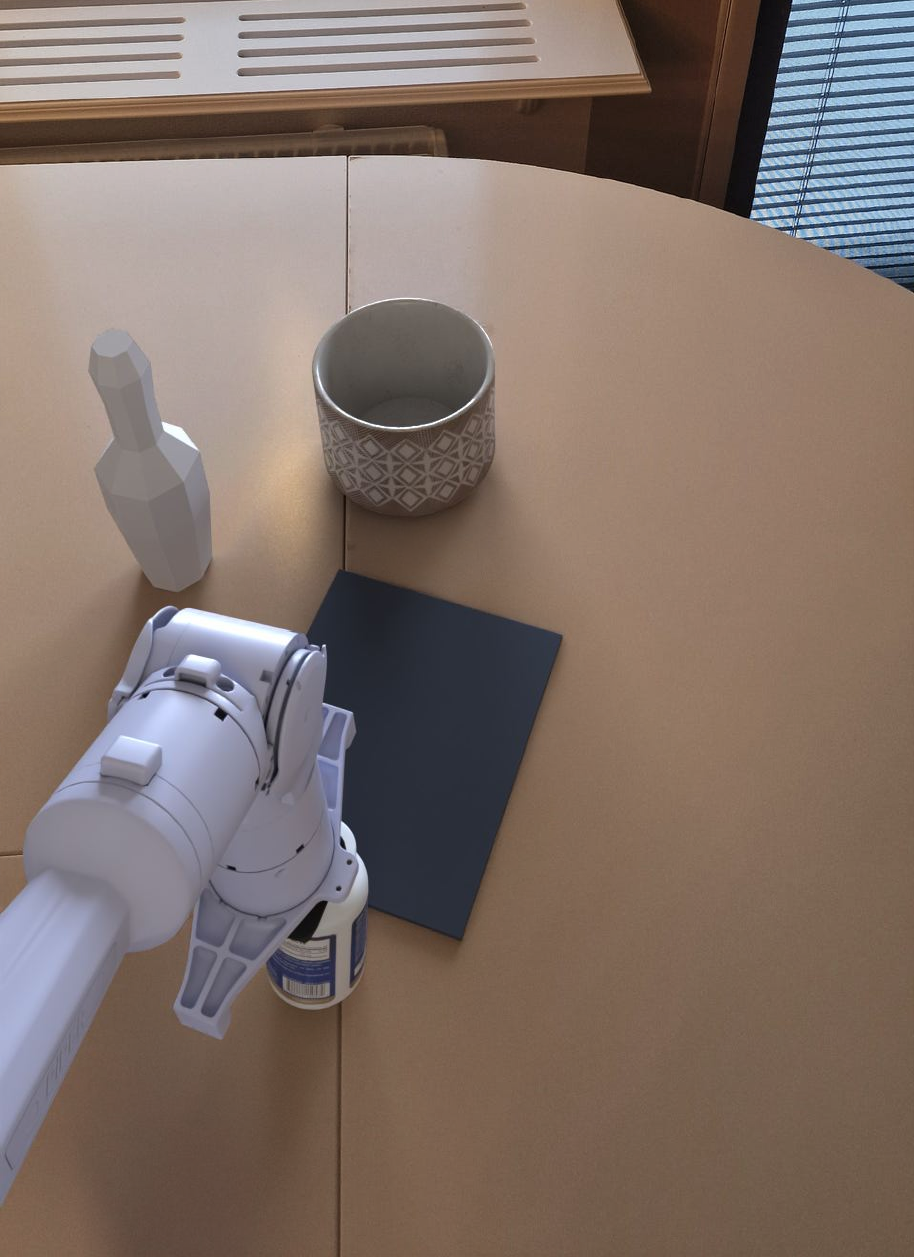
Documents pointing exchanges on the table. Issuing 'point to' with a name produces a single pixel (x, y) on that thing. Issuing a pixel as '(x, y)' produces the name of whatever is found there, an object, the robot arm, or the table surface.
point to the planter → (406, 405)
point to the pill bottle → (326, 950)
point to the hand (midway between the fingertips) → (292, 926)
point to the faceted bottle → (150, 470)
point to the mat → (428, 737)
